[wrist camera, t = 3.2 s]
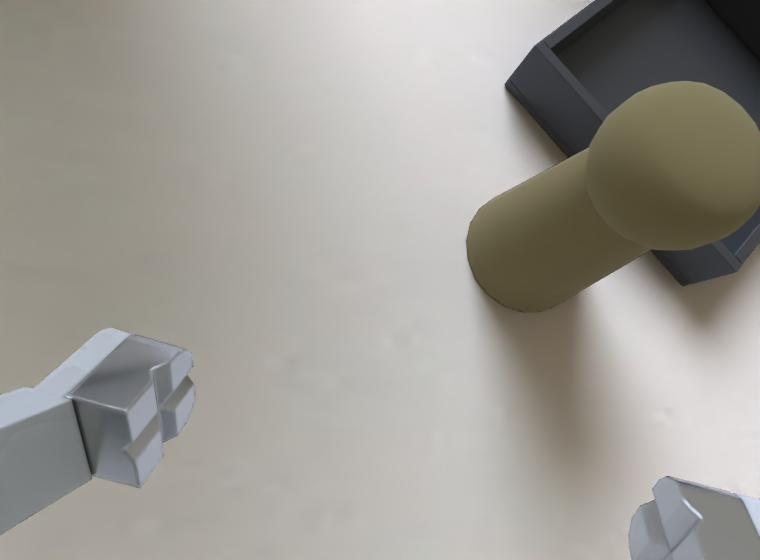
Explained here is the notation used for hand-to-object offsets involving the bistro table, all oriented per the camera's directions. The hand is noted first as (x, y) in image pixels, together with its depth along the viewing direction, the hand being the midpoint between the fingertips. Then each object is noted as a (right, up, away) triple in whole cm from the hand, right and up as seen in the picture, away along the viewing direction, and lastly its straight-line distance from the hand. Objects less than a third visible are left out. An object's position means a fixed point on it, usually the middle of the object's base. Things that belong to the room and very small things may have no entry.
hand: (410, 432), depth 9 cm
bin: (+17, +13, +20) cm, 29 cm away
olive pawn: (+6, +4, +16) cm, 18 cm away
